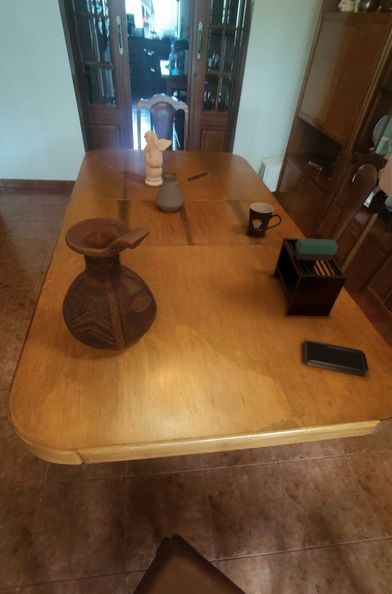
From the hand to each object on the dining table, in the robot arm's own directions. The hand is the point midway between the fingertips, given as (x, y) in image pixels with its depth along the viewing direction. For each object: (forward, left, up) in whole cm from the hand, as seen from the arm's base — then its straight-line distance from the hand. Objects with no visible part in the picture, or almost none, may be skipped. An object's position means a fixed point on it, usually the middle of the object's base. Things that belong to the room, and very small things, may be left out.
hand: (381, 222), depth 72 cm
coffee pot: (+45, -65, -27) cm, 84 cm away
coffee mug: (+15, -45, -27) cm, 55 cm away
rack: (+9, -8, -27) cm, 30 cm away
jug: (+62, +10, -27) cm, 68 cm away
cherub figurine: (+56, -92, -27) cm, 111 cm away
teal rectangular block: (+9, -8, -14) cm, 19 cm away
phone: (+7, +18, -27) cm, 33 cm away
